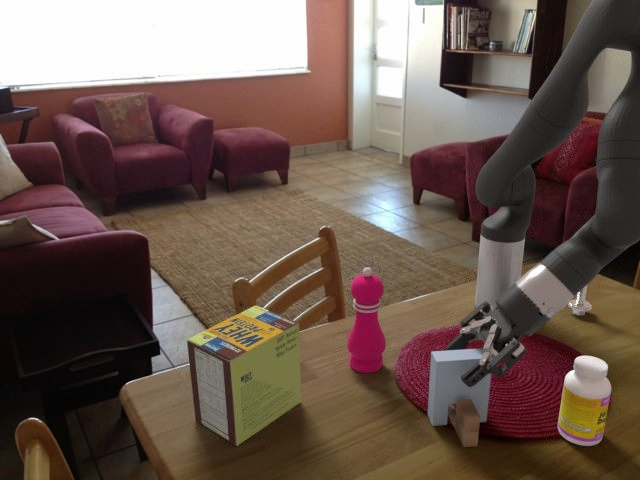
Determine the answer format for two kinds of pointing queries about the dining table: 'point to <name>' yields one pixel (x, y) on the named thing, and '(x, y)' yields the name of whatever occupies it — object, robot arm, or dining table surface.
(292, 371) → the protein box
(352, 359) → the pepper mill
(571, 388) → the supplement bottle
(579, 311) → the screw
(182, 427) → the dining table surface
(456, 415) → the wooden notched block
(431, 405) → the pale blue notched block
